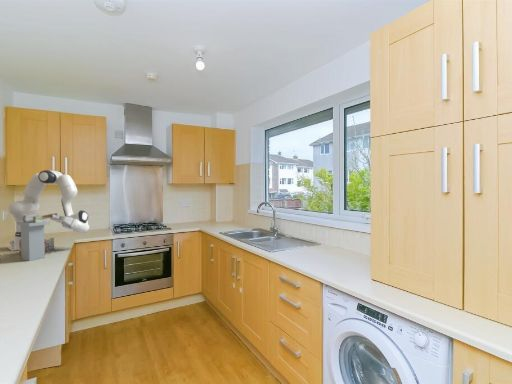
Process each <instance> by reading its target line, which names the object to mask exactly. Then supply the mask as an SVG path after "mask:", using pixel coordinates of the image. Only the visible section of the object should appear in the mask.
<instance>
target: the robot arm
mask: <svg viewBox="0 0 512 384" xmlns="http://www.w3.org/2000/svg"><path fill="white" fill-rule="evenodd" d="M48 184H49V185H57V186H58V188H59V191H60V194H61V201H60V202H61V206H62V209H63V214H64V215H58V214H57V215H54V213H51V214H52V217H51V218H49V219H50V221H53V222H57V223H60V224H61V225H62V227H63V228H65V229H67V230H72V231H73V232H75V233H78V234H86V233H87V232H88V231H89V229H90V225H89V221H88V220H89V214H88V212H87V211H85V210H78V211H76V212H74V211H73V207H72V202H73V200H74V199H75V198H76V197H77V195H78V188H77V185H76V183H75V181H74V179H73V178H72V177H71V175H69V174H66V173H63V172H62V171H59V170H55V169H54V170H52V169H51V170H50V169H46V170H41V171H39V172H36V173H34V174H33V176H32V177H31V178H30V179H29V181H28V182H27V184H26V187H25V189H24V190H23V195H24V196H23V199H22V200H16V201H13V202H12V203H10V204H9V205H8V208H7V209H8V212H9V213H10V214H12V216H13V218H14V220H15V233H14V237H13V239H11V241H10V242H9V246H7V249H8V250H9V251H11V252H12V251H20V248H19V239H21V225H17V222H20V221H23V218H22V215H25V214H31V213H36V212H37V211H39V209H40V203H39V202H40V197H41V195H42V194H43V192H44V189H45V187H46V185H48Z"/></svg>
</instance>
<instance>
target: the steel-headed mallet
mask: <svg viewBox="0 0 512 384" xmlns="http://www.w3.org/2000/svg"><path fill="white" fill-rule="evenodd" d="M52 214H54V215H57V216H58V213H57V212H55V213H49V214H45V215H44V214H43V215H41V216H42V219H43V220H45V219H46V220H47V219H50V218H51V217H52ZM35 216H40V213H39V212H33V213H29V214H25V215H22V218H23V222H25V223H28V222H33V217H35Z"/></svg>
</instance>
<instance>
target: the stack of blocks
mask: <svg viewBox="0 0 512 384" xmlns="http://www.w3.org/2000/svg"><path fill="white" fill-rule="evenodd" d="M44 245H45V252H47V251H52V250H55V238H54V237H44ZM19 248H20V250H19V256H21V239H19Z"/></svg>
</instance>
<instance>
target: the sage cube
mask: <svg viewBox="0 0 512 384" xmlns="http://www.w3.org/2000/svg"><path fill="white" fill-rule="evenodd" d="M42 216H43V215H39V216H35V217H33V222H34V223H39V222H43V221H44V219H42Z"/></svg>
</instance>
